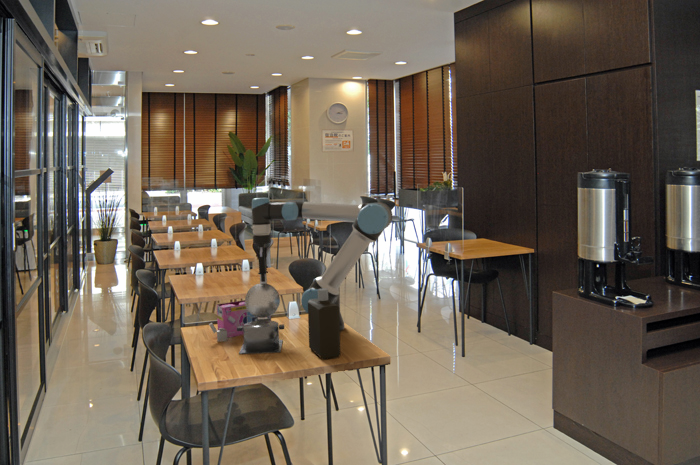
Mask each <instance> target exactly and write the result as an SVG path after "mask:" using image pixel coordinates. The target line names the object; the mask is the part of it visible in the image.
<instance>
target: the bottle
mask: <svg viewBox="0 0 700 465" xmlns="http://www.w3.org/2000/svg"><path fill="white" fill-rule="evenodd" d="M307 319H308V325H307V326H308V348H309V349H310V350H312V352H314V353H315V354H316V355H317V356H319V357H320V358H321V360H323V361H324V360H331V359H332V360H333V359H339V358H340V356H341V331H340V316H339V307H338V306H337V305H336V304H334V303H332V302H331V301H329V300H328V289H324V288H322V289H318V299H310V300H309V301H308V313H307Z"/></svg>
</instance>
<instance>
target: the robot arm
mask: <svg viewBox="0 0 700 465" xmlns="http://www.w3.org/2000/svg"><path fill="white" fill-rule="evenodd" d="M251 217H252V220H251V222H252V226H250V229H252V234H253V235H252V244H254V245H258V247H257V249H256V252H257V258H258V269H259V270H258V273H257V275H259V284H260V283H266V284H268V279H267V276H268V273H269V271H267V270H268V269H267V266H268V265H267V264H268V263H267V261H268V260H267V258H268V246H266V245H269V244H271V242H272V239H271V238H272V236H271V233H272V231H271V227H272V226H271V221H286V222H287V221H288V222H289V221H295V220H297V219H304V220H305V219H307V220H318V221H319V220H321V221H334V222H346V223H352V225H351V226H352V231H351V233H350V235H349V236H348V237H347V238H346V240H345V241H344V243H343V245H342V246H341V248H340V249H339V250H338V252H337V253H336V255H335V256H334V257H333V259H332V260H331V262H330V263H329V265H328V267H326V269H325V271H324V272H323V274H321V276H317V277H316V278H313V280H312V283H311V285H310V286H309V287H308V288H307V289H306V290H304V292H303V293H302V296H301V298H300V302H301V303H300V304H301V306H302V309H303V310H304V311H305V312H306V313H307V314H308V301H309V300H310V299H318V289H322V288H324V289H328V300H329V301H331V302H332V303H334V304H336V305H337V306H338V307H339V316H340V332H342V331H344V329H345V322H344V321H345V320H344V319H343V317H342V314H341V313H342V312H341V299H340V298H341V295H340V294H341V291H340V289H341V288H340V287H341V285H342V283H344V281H345V279H346V278H347V276H348V275H349V274H350V272H351V271H352V269H353V268H354V267H355V265H356V263H357V262H358V261H359V259H360V258H361V257H362V256H363V254H364V252H365V250H367V248H368V246H369V245H370V244H371V243H374V242H377V241H378V239H379V237H380V236H381V235H382V233H383V232H384V230H385V229H386V228H387V227H389V226H390V225H391V223H392V221H393V211H392V209H391V208H390V207H389V205H387V204H386V203H384V202H380V201H379V202H377V201H376V202H362V203H361V204H348V203H347V204H346V203H333V202H331V203H330V202H316V201H315V202H314V201H300V200H297V199H296V200H295V199H294V200H293V199H292V200H289V201H281V202H271V201H270V198H269V197H255V198H252V199H251Z"/></svg>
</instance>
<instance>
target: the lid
mask: <svg viewBox="0 0 700 465" xmlns="http://www.w3.org/2000/svg"><path fill="white" fill-rule="evenodd" d="M244 298H245V299H244V300H245V305H246V308H247V310H248V311H249V312H250V313H251V314H252V315H253V316H255V317H258V319H267V317H269V316H271V317H272V315H274V314H275V313H276V312H277V311H278V310H279V309H278V308H279V306H280V303H281V298H280V294H279V292H278V290H277V289H276V287H275V286H273V285H271V284H269V283H267V284H266V283H260V282H259V283H256V284H254V285H253V286H251V287H250V288H249V289H248V291H247V292H246V294H245V297H244Z"/></svg>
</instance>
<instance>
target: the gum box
mask: <svg viewBox="0 0 700 465" xmlns="http://www.w3.org/2000/svg"><path fill="white" fill-rule="evenodd" d="M267 318H269V320H270V321H272V315H271V316H269V317H267ZM257 319H258V317H255V316H253V315H252V314H251V313H250V312H249V311H248V310H247V308H246V305H245V299H244V300H239V301H231V302H223V303H218V304H217V303H216V320H217V331H218V330H220V329H219V328H225V330H227V339H228V338H233V337H238V336H244V335H243V330H242V331H237V327H238V326H243V325H244V324H246V323H248V322H252V321H257Z"/></svg>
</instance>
